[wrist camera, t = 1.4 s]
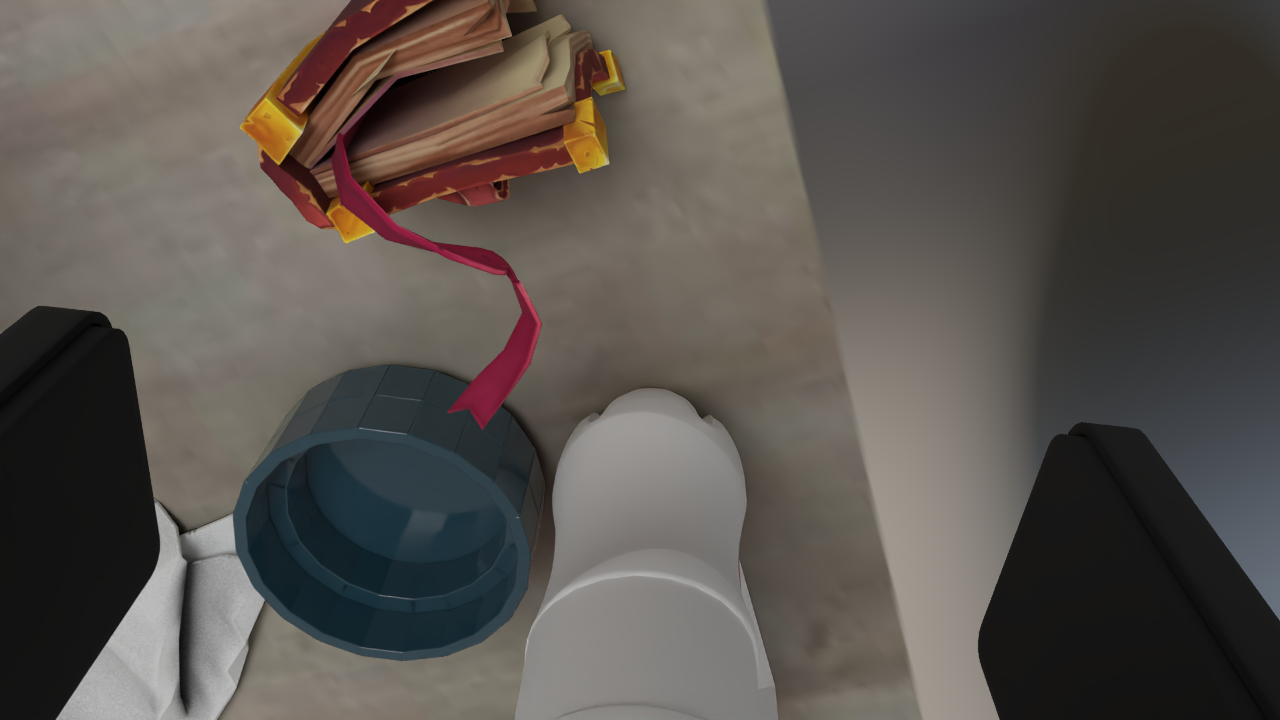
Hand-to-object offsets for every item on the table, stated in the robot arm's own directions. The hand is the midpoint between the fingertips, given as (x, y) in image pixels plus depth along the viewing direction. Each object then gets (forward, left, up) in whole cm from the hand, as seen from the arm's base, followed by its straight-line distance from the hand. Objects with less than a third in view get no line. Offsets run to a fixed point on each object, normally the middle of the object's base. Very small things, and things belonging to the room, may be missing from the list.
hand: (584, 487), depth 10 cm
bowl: (+6, -20, -25) cm, 33 cm away
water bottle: (+12, -12, -26) cm, 30 cm away
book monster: (-2, -6, -26) cm, 26 cm away
